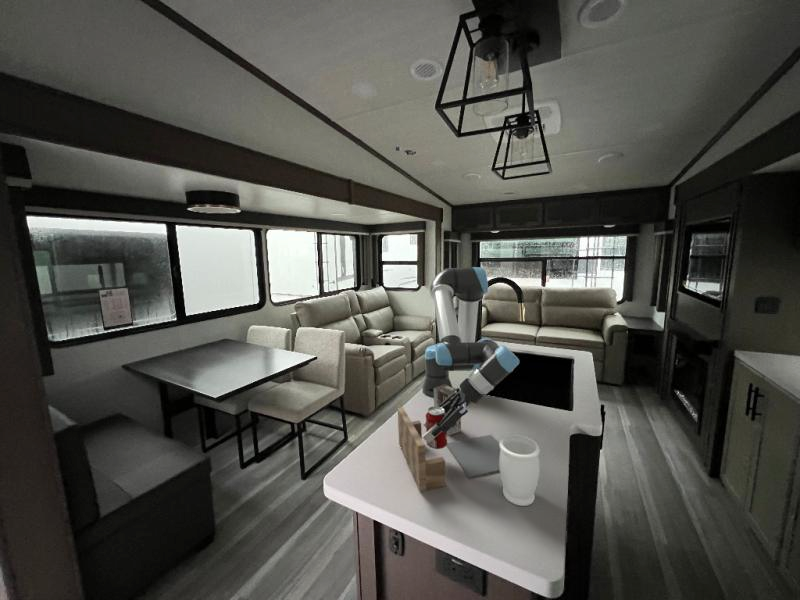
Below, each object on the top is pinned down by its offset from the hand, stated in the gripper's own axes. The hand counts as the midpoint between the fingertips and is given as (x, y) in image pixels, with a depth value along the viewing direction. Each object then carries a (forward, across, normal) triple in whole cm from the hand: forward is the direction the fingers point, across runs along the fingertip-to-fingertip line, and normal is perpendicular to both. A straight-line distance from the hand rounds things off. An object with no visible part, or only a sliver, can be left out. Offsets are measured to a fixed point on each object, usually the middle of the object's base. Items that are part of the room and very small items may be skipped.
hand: (425, 432), depth 102 cm
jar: (-11, -14, -25) cm, 31 cm away
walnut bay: (+8, -2, -5) cm, 10 cm away
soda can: (+1, 0, -6) cm, 6 cm away
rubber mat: (-6, +3, -20) cm, 21 cm away
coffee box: (+2, +20, -13) cm, 24 cm away
